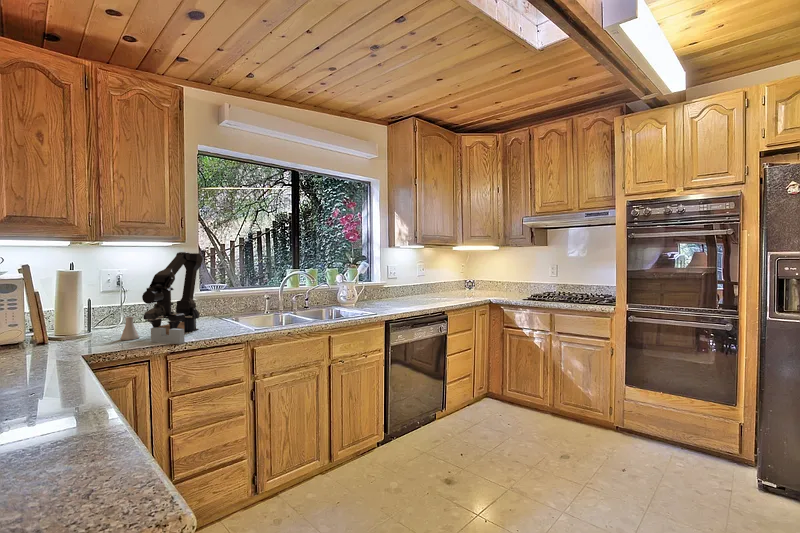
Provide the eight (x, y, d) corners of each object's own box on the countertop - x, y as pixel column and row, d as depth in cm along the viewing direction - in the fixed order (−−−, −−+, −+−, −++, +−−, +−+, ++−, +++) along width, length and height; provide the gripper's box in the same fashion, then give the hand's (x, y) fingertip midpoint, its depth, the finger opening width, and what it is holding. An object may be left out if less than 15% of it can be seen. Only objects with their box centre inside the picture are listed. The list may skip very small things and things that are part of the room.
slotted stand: (155, 340, 185) (155, 327, 185) (184, 342, 180) (184, 329, 180) (151, 341, 182) (150, 328, 182) (179, 344, 178) (179, 330, 177)
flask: (117, 339, 188) (116, 317, 187) (133, 336, 194) (133, 315, 194) (126, 341, 184) (125, 318, 184) (142, 338, 191) (142, 316, 190)
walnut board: (180, 334, 199) (180, 321, 199) (184, 334, 198) (184, 322, 198) (159, 339, 188) (158, 326, 188) (163, 339, 187) (163, 326, 187)
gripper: (132, 302, 184) (133, 337, 184) (165, 303, 178) (166, 339, 179) (153, 299, 194) (154, 332, 195) (185, 300, 189) (186, 335, 189)
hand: (164, 335), depth 189 cm, fingers open, 8 cm apart
